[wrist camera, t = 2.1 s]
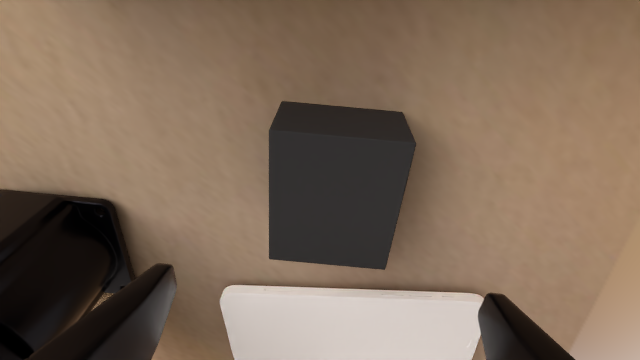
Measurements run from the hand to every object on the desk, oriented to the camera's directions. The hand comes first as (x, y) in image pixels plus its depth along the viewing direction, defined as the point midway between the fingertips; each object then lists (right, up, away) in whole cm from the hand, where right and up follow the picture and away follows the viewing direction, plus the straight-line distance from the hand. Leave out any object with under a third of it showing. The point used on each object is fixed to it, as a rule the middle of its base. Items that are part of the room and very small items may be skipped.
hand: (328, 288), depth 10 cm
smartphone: (+2, -6, +12) cm, 13 cm away
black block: (0, +4, +6) cm, 7 cm away
